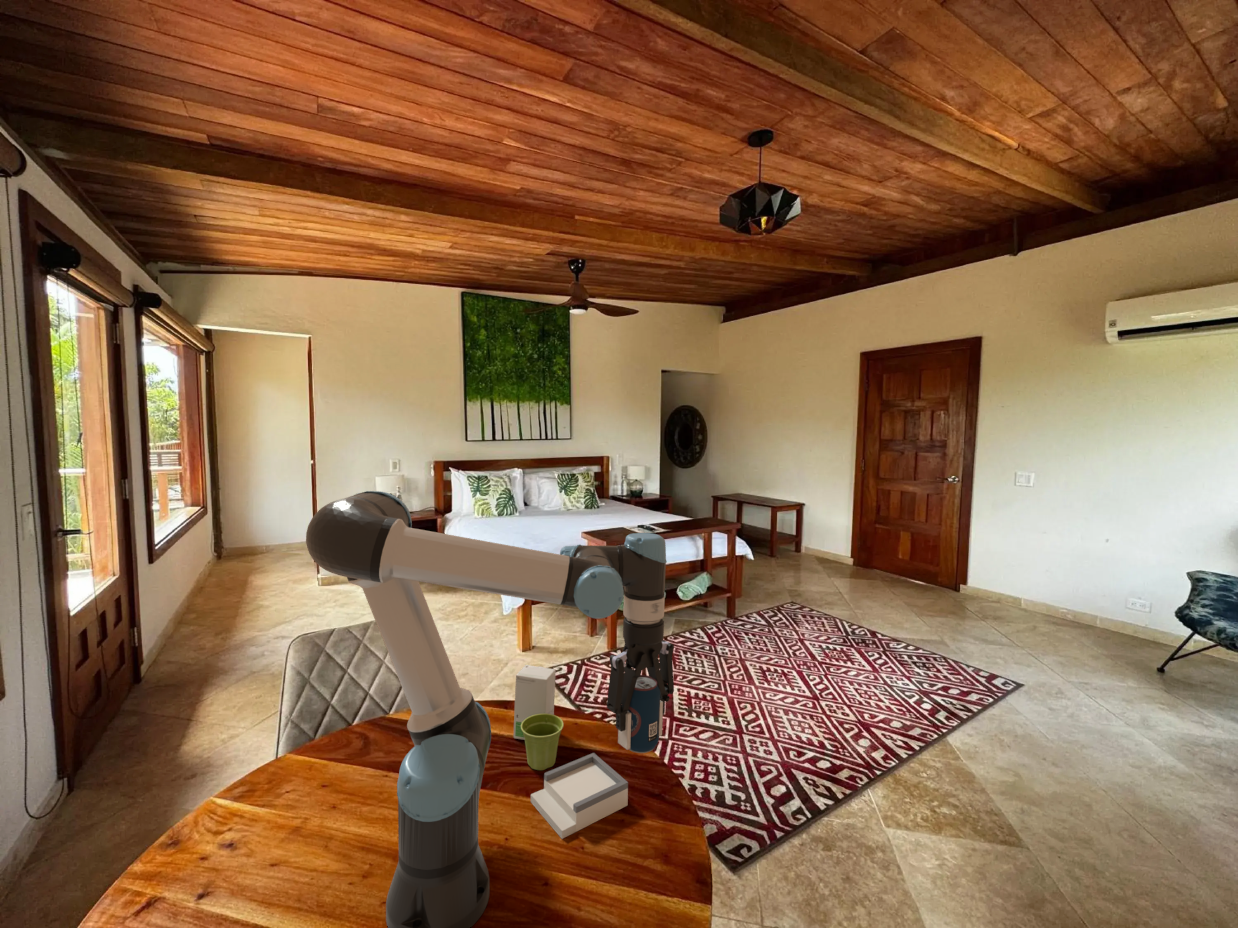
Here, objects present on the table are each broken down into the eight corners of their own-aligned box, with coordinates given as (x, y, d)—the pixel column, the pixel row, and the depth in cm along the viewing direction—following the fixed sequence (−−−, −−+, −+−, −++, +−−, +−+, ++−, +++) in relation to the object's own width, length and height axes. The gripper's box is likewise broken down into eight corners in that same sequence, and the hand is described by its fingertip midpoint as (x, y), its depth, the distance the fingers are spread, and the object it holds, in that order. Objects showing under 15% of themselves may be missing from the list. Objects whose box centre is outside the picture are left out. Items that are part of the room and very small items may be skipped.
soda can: (614, 741, 99) (615, 679, 99) (641, 729, 104) (643, 670, 103) (638, 760, 94) (640, 694, 94) (666, 746, 98) (668, 683, 98)
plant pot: (566, 751, 122) (567, 714, 121) (558, 777, 113) (558, 737, 112) (527, 748, 123) (527, 711, 122) (515, 773, 113) (515, 734, 113)
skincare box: (512, 738, 127) (513, 675, 126) (523, 724, 133) (524, 663, 132) (545, 743, 125) (546, 679, 124) (555, 728, 131) (556, 667, 130)
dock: (561, 838, 95) (562, 813, 95) (530, 801, 105) (530, 778, 105) (627, 805, 104) (628, 782, 104) (593, 773, 114) (593, 752, 114)
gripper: (612, 634, 89) (609, 767, 90) (696, 613, 101) (692, 731, 102) (587, 621, 95) (584, 746, 96) (669, 603, 107) (666, 714, 108)
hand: (640, 738), depth 99 cm, fingers closed on soda can, 7 cm apart
